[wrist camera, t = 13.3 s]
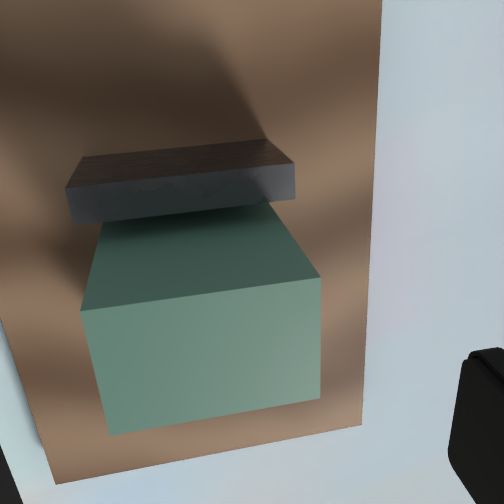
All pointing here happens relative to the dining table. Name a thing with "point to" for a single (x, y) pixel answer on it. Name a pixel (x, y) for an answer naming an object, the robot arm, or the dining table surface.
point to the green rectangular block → (201, 317)
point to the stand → (180, 186)
